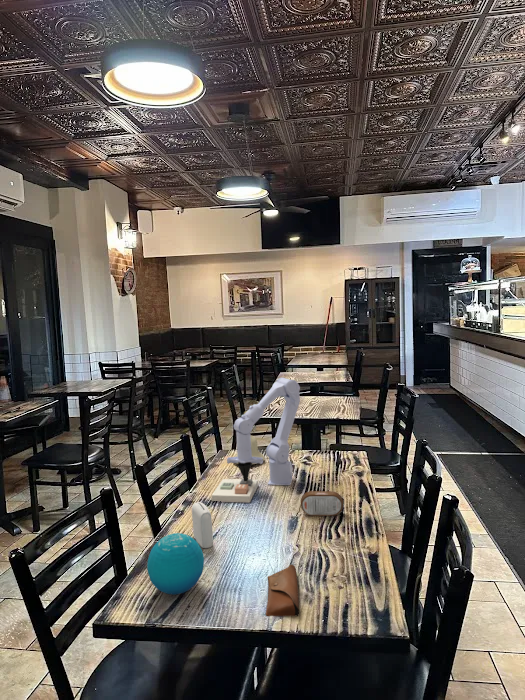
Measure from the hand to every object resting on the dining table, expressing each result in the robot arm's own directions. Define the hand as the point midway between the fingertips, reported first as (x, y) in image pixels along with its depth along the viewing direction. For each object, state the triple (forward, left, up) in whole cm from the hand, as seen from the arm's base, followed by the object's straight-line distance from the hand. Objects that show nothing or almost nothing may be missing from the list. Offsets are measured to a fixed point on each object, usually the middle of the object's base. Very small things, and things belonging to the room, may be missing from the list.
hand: (246, 480), depth 195 cm
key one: (0, 0, -4) cm, 4 cm away
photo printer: (+5, +43, -4) cm, 43 cm away
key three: (+7, +4, -3) cm, 9 cm away
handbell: (+6, -33, -4) cm, 34 cm away
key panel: (+4, +4, -4) cm, 7 cm away
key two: (0, +8, -3) cm, 8 cm away
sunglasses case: (-24, +68, -5) cm, 73 cm away
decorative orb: (+4, +69, -4) cm, 69 cm away
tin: (-32, +21, -4) cm, 38 cm away
